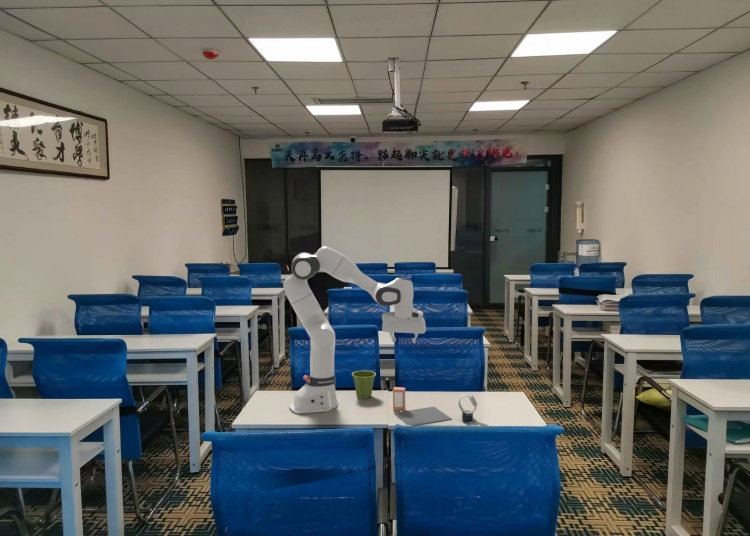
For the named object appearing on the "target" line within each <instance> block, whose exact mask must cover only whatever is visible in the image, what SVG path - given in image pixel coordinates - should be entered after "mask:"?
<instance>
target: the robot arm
mask: <svg viewBox="0 0 750 536" xmlns="http://www.w3.org/2000/svg"><path fill="white" fill-rule="evenodd" d="M291 261H292V262H291V265H290V266H291V268H290V269H291V270H290V271H291V272H292V273H291V275H289V276H287V278H285V279H284V281H283V282H282V288H283V290H284V292H285V296H286V298H287V299H288V301H289V303H290V306H291V307H292V309H293V310H294V312H295V314H296V316H297V317H298V319H299V321H300V323H301V325H302V326H303V327H304V329H305V331H306V333H307V335H308V337H309V338H310V353H309V354H310V355H309V363H310V364H309V366H310V367H309V369H310V372H309V373H310V374H309V376H308V375H306V374H305V375H304V376H303V378H302V379H303V380H304V381H305V384H304V385H303V386H302V387H301V388H300V389H298V390H297V391H296V392H295V393H294V394H295V395H294V399H293V401H290V403H289V404H288V405H289V406H288V407H289V410H290V409H291V410H290V411H291V412H292V411H293V412H292V413H295V414H296V415H297V414H309V413H323V412H331V411H332V410H333V409H334V408H337V406H339V401H338V399H337V394H336V384H337V383H336V381H337V379H336V374H335V349H336V333H335V330H334V328H333V327H332V326H331V324H330V322H329V320H328V318H327V317H326V315H325V313H324V311H323V309H322V308H321V305H320V304H319V302H318V300H317V299H316V297H315V295H314V293H313V291H312V289H311V288H310V285H309V283H308V280H309V279H310V278H312V277H314V276H315V275H316V274H317V273H318V272H319V271H323V272H325V273H327V274H328V275H329V276H331V277H332V278H334V279H337V280H339V281H341V282H343V283H349V284H350V283H351V284H353V285H356V286H358V287H359V288H361V289H362V290H364V291H366V292H368V294H370V296H371V298H372V299H373V300H374V302H376V303H377V304H378V305H380V306H381V307H390V306H393V305H394V306H393V308H394V311H391V312H389V311H385V312H383V313H382V314H381V320H382V326H381V330H382V332H384V333H389V337H391V342H393V343H395V342H396V341H397V340H396V339H397V338H396V337H395V336H394V333H401V334H402V333H404V334H414V337H413V338H411V343H413V344H416V342H417V341H416V339H417V338H418V335H419V334H420V335H421V334H425V333H426V331H427V330H426V329H427V328H426V327H427V326H426V320H425V318H424V317H423V316H424V311H421V310H419V309H417V308H414V304H413V300H414V285H413V281H412V280H411V279H409V278H404V277H396V278H395V279H394V280H392V281H390V282H388V283H385V282H378V281H376V280H375V279H373V278H371V277H369V276H368V275H366V274H365V273H363V272H362V271H361V270H360V268H359V267H358V266H357V264H356V263H355V262H354V261H353V260H351V259H350V258H349V257H348V256H346V255H345V254H343V253H341V252H340V251H337V250H336V249H334V248H332V247H329V246H322V247H320V248H318V250H317V251H316V252H315V253H314V254H312V253H310V252H308V251H307V252H306V251H302V252H299V253H298V254H296V255H295V256H294V258H293V259H292V260H291Z"/></svg>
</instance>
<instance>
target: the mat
mask: <svg viewBox="0 0 750 536" xmlns="http://www.w3.org/2000/svg"><path fill="white" fill-rule="evenodd" d="M393 415H395V416H396V417H397V418H399V419H400V420H401V421H402V420H403V421H404V422H405V423H404V424H406V423H407V424H408V425H417V426H420V425H421V426H422V425H428V424H432V423H440V422H445V421H452V418H451V417H450V415H447V414H446V413H444V412H443V411H441V410H440V409H438V408H437V407H436V406H430V407H429V406H428V407H422V408H417V409H411V410H410V409H409V410H405V411H402V412H399V411H395V412H393ZM403 421H402V422H403ZM407 424H406V425H407ZM408 425H407V426H408Z"/></svg>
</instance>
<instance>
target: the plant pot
mask: <svg viewBox="0 0 750 536" xmlns="http://www.w3.org/2000/svg"><path fill="white" fill-rule="evenodd" d="M376 373H377V372H374V371H373V370H371V371H370V370H356V371H353V372H352V373H351V376H352V379H353V383H354V389H355V394H356V397H357V398H358V399H368V398H371V397H372V393H373V389H374V381H375V377H376V375H377V374H376Z"/></svg>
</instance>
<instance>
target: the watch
mask: <svg viewBox="0 0 750 536" xmlns="http://www.w3.org/2000/svg"><path fill="white" fill-rule="evenodd" d="M465 397H468V398H469V400H470V403H471V405H472V406H473V407H474V408H473V409H472V410H465V409H464V408H463V407H462V404H461V400H462V398H465ZM457 404H458V407H459V409H460V411H461V419H462V420H461V422H462V423H468V422H469V423H470V422H473V423H474V413H475V412H476V410H477V407H478V403H477V400H476V399H475V397H474V396H473V395H471V394H469V393H464V394H462V395H461V396H459V398H458V403H457Z"/></svg>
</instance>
